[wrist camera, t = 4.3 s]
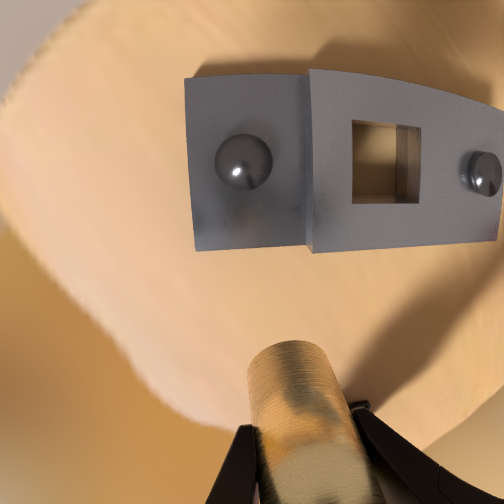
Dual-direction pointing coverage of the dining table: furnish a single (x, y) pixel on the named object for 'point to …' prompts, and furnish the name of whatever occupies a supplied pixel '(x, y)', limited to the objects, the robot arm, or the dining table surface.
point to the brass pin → (306, 431)
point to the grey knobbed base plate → (337, 163)
